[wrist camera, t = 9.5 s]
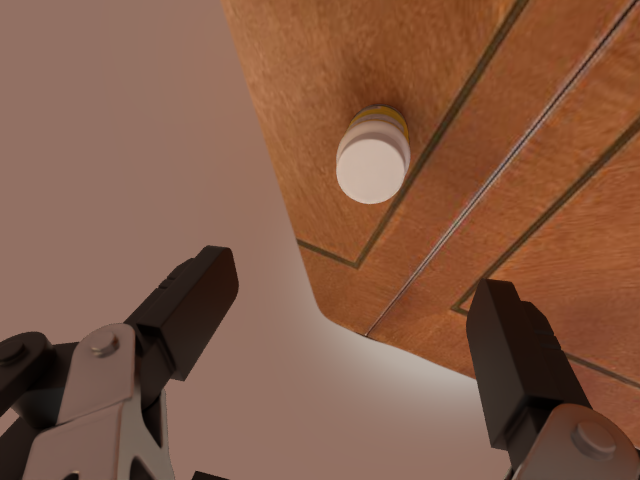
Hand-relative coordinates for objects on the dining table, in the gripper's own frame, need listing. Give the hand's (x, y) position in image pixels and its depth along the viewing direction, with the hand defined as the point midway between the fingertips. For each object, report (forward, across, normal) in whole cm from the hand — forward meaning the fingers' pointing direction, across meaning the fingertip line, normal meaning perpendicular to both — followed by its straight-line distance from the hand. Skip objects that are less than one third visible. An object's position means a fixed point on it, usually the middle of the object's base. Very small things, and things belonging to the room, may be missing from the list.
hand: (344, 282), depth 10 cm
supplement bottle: (+18, 0, 0) cm, 18 cm away
